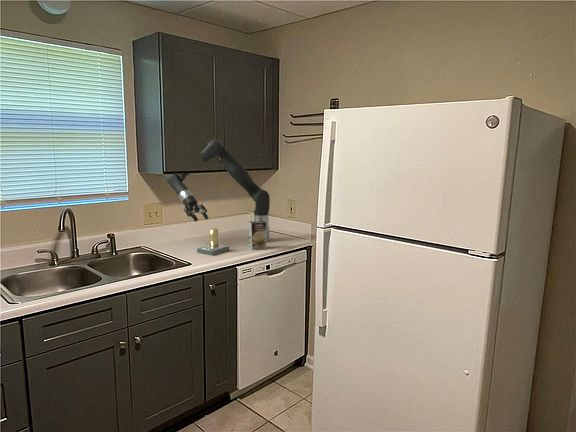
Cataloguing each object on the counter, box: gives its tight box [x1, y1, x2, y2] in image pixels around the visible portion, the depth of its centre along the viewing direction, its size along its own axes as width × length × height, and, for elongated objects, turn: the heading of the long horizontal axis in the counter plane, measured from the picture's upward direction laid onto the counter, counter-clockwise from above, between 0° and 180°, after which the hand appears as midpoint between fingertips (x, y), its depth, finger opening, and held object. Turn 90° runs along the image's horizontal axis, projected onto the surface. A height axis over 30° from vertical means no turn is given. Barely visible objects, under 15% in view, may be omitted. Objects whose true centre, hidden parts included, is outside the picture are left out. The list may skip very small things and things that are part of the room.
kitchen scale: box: [196, 243, 230, 256], centre depth 253 cm, size 14×12×3 cm
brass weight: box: [209, 228, 219, 247], centre depth 253 cm, size 5×5×10 cm
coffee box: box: [248, 220, 267, 251], centre depth 261 cm, size 9×6×16 cm
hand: (202, 219), depth 256 cm, fingers open, 8 cm apart
